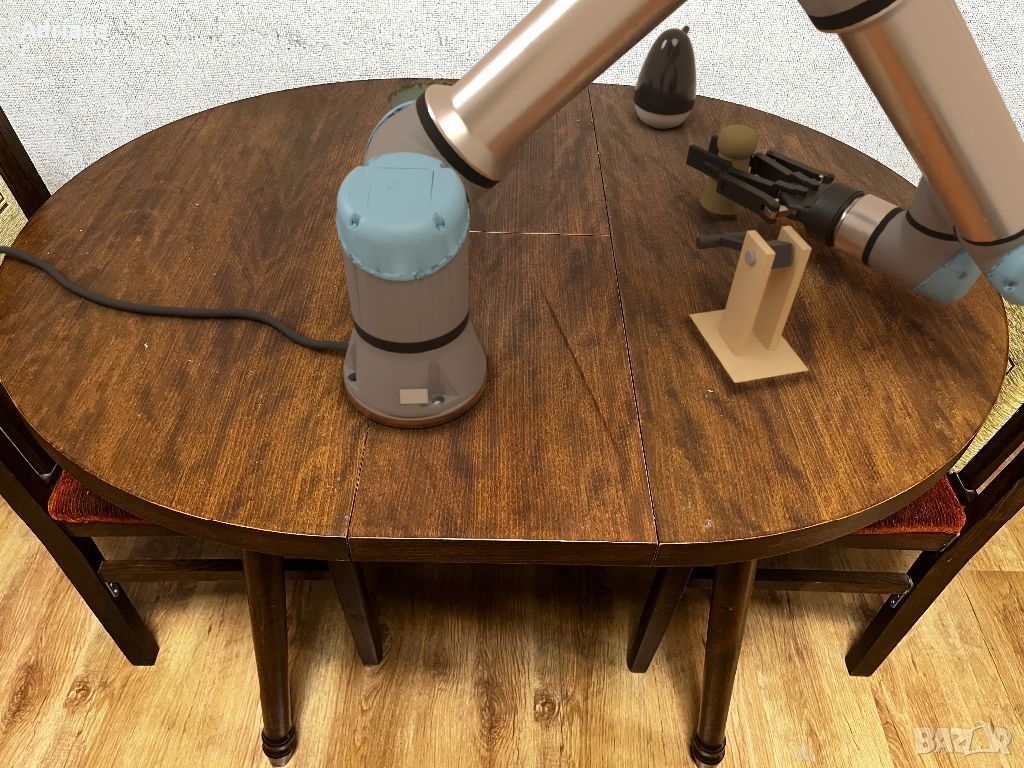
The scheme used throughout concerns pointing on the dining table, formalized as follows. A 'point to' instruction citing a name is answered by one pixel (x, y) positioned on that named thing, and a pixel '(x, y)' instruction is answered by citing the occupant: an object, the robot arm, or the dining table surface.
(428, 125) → the robot arm
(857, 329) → the dining table surface
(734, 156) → the cork
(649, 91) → the brown white egg shape
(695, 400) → the dining table surface
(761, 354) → the bracket
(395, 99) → the bowl
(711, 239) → the lever
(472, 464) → the dining table surface
